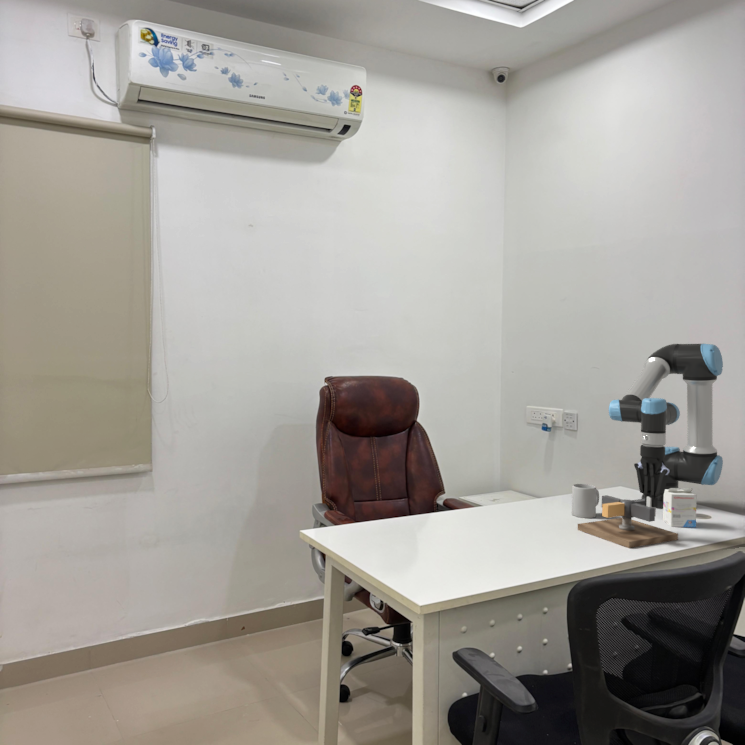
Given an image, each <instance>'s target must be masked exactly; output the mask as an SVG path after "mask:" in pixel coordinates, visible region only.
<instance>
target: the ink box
mask: <svg viewBox="0 0 745 745" xmlns="http://www.w3.org/2000/svg"><path fill="white" fill-rule="evenodd" d="M692 491H693V488H690V487H688V488H687V487H685V488H684V487H683V488H682V487H678V488H670V489H665V491H664V499H663V508H662V521H663V522H664V523H666V524H667V525H668V526H669V527H670V528H697V497H698V496H697V494H695V493H693V492H692Z"/></svg>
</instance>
